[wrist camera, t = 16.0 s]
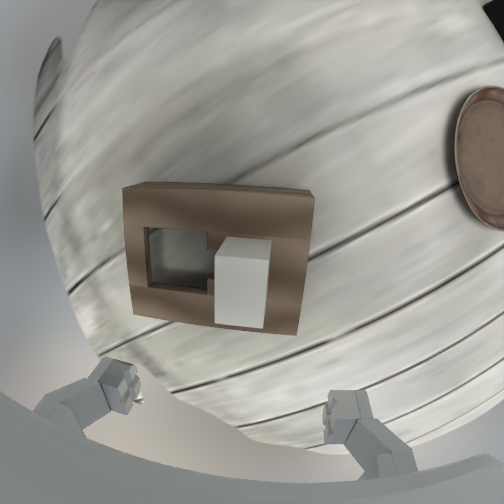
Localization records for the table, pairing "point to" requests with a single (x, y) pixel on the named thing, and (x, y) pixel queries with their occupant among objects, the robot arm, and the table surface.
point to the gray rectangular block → (242, 281)
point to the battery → (496, 14)
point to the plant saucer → (482, 154)
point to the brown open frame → (218, 228)
